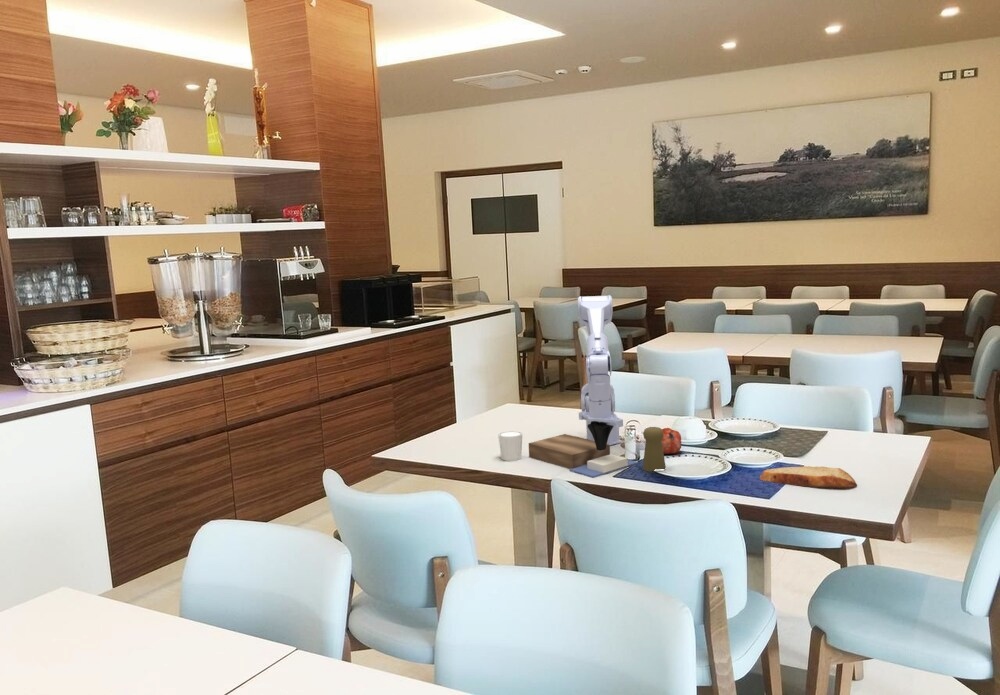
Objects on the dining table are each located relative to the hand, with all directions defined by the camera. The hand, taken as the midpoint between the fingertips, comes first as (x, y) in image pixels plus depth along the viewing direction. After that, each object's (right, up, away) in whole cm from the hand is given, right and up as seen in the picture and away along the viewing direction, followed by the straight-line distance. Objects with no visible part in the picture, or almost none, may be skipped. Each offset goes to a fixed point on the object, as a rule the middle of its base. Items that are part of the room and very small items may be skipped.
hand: (601, 449), depth 216 cm
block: (+1, -3, -2) cm, 3 cm away
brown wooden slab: (-8, -4, +11) cm, 14 cm away
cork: (+14, -5, -3) cm, 15 cm away
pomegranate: (+20, -3, +11) cm, 23 cm away
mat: (+1, -5, 0) cm, 5 cm away
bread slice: (+48, -6, -20) cm, 52 cm away
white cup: (-24, -4, +13) cm, 28 cm away
